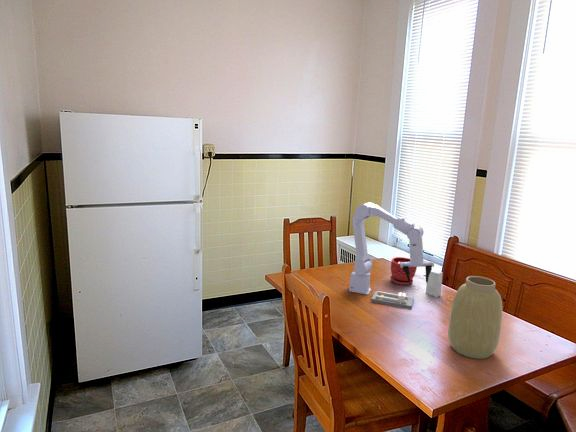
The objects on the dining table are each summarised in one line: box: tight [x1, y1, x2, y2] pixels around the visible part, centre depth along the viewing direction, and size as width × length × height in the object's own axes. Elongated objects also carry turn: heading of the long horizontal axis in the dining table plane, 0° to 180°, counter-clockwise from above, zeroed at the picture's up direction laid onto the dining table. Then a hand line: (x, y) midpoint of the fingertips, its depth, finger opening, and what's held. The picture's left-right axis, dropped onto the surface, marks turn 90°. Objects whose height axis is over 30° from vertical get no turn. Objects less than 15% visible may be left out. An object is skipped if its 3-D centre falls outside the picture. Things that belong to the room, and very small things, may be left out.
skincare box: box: [425, 268, 444, 298], centre depth 201 cm, size 6×4×12 cm
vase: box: [447, 275, 503, 360], centre depth 149 cm, size 17×17×27 cm
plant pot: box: [390, 256, 418, 286], centre depth 216 cm, size 13×13×12 cm
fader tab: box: [397, 292, 407, 301], centre depth 190 cm, size 3×4×3 cm
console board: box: [370, 290, 414, 310], centre depth 192 cm, size 18×10×2 cm, turn 68°
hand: (417, 282), depth 186 cm, fingers open, 7 cm apart
